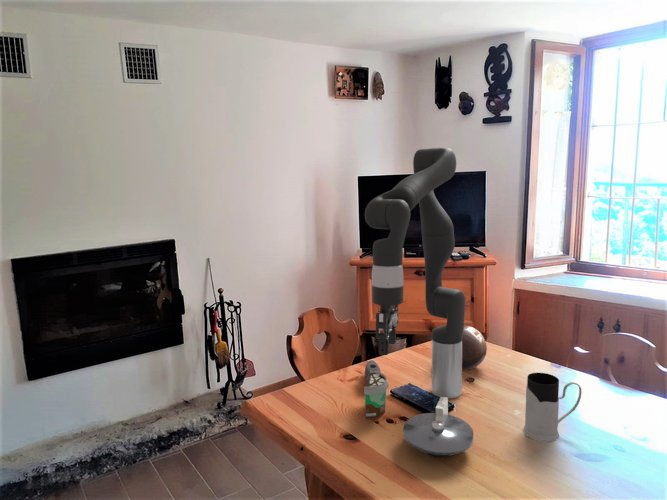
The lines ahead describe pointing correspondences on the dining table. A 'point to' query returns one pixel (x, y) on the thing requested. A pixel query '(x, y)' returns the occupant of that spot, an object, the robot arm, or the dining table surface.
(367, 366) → the perforated stone tool
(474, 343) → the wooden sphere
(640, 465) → the dining table surface
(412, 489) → the dining table surface
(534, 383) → the glass holder
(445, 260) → the robot arm
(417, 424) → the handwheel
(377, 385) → the food container
